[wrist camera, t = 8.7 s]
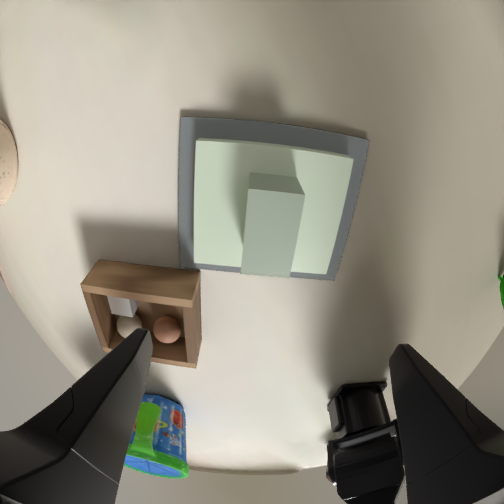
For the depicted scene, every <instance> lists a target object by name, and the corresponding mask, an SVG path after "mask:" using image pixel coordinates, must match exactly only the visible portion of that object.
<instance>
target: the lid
mask: <svg viewBox="0 0 504 504" xmlns="http://www.w3.org/2000/svg"><path fill="white" fill-rule="evenodd" d="M353 160H354V159H353V158H351V157H350V156H349V155H345V154H339V153H334V152H328V151H322V150H316V149H310V148H303V147H296V146H288V145H280V144H272V143H263V142H253V141H241V140H228V139H212V138H199V139H198V140H196V151H195V178H194V263H201V264H211V265H222V266H232V267H241V274H249V275H261V276H273V277H285V278H290V273H291V272H302V273H314V274H326V273H327V270H328V266H329V263H330V259H331V255H332V252H333V248H334V244H335V240H336V236H337V232H338V228H339V224H340V220H341V216H342V212H343V207H344V203H345V199H346V194H347V190H348V185H349V180H350V175H351V170H352V165H353Z"/></svg>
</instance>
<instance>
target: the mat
mask: <svg viewBox="0 0 504 504" xmlns="http://www.w3.org/2000/svg"><path fill="white" fill-rule="evenodd" d="M199 138H212V139H228V140H241V141H253V142H263V143H272V144H280V145H288V146H296V147H303V148H310V149H316V150H322V151H328V152H334V153H339V154H345V155H349V156H350V157H351V158H353V159H354V160H353V165H352V170H351V175H350V180H349V185H348V190H347V194H346V199H345V203H344V207H343V212H342V216H341V220H340V224H339V228H338V232H337V236H336V240H335V244H334V248H333V252H332V255H331V259H330V263H329V266H328V270H327V273H326V274H314V273H302V272H291V273H290V277H294V278H306V279H319V280H333V281H334V280H335V277H336V274H337V271H338V267H339V264H340V261H341V257H342V254H343V250H344V247H345V243H346V240H347V236H348V233H349V229H350V225H351V221H352V217H353V213H354V209H355V205H356V201H357V197H358V193H359V189H360V184H361V180H362V175H363V171H364V166H365V161H366V156H367V151H368V146H369V141H370V140H367V139H363V138H359V137H354V136H350V135H345V134H340V133H335V132H330V131H324V130H319V129H313V128H307V127H300V126H293V125H286V124H279V123H270V122H261V121H251V120H240V119H226V118H207V117H181V122H180V145H179V249H180V267H186V268H196V269H206V270H216V271H227V272H237V273H241V267H232V266H222V265H211V264H201V263H194V178H195V151H196V140H198V139H199Z"/></svg>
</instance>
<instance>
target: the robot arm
mask: <svg viewBox="0 0 504 504" xmlns="http://www.w3.org/2000/svg"><path fill="white" fill-rule="evenodd" d="M152 351H153V344H152V339H151V335H150V331H149V330H148V329H144V328H137V329H135V330H134V331H133V332H132V333H131V334H130V335H128V336H127V337H126V338H125V339H124V340H123V341H122V342H120V343H119V344H118V345H117V346H116V347H115V348H114V349H113V350H111V351H110V352H109V353H108V354H107V355H106V356H105V357H103V358H102V359H101V360H100V361H99V362H98V363H97V364H96V365H94V366H93V367H92V368H91V369H90V370H89V371H88V372H87V373H86V374H84V375H83V376H82V377H81V378H80V379H79V380H78V381H77V382H76V383H74V384H73V385H72V388H71V387H70V388H69V389H68V390H67V391H66V392H64V393H63V394H62V395H61V396H60V397H59V398H57V399H56V400H55V401H54V402H53V403H51V404H50V405H49V406H47V407H46V408H45V409H43V410H42V411H41V412H39V413H38V414H36V415H35V416H33V417H32V418H31V419H29V420H28V421H27V422H25V423H24V424H22V425H21V426H19V427H17V428H15V429H13V430H9V431H2V432H0V504H115V499H116V495H117V490H118V486H119V485H118V484H119V481H120V477H121V473H122V469H123V465H124V461H125V457H126V454H127V450H128V446H129V442H130V439H131V435H132V432H133V428H134V425H135V421H136V418H137V414H138V411H139V407H140V404H141V401H142V398H143V394H144V391H145V387H146V382H147V377H148V371H149V366H150V361H151V356H152ZM389 367H390V375H391V384H392V393H393V400H394V405H395V410H396V415H397V419H394V420H393V421H391V420H390V417H389V413H388V409H387V406H386V403H385V399H384V396H383V391H384V389H385V388H386V387H387V382H376V383H364V384H347V385H343V386H341V387H340V389H339V391H338V392H337V394H336V395H335V397H334V398H333V400H332V401H331V403H330V404H329V406H328V408H327V410H328V412H329V414H330V421H331V427H332V431H333V432H336V435H337V439H336V440H330V441H328V443H329V445H327V452H328V462H327V470H326V475H327V476H328V477H330V478H331V480H332V483H333V484H334V485H337V492H338V495H339V496H340V497H341V498H342V499H343V500H344V501H345V502H346V503H347V504H395V502H396V500H397V498H398V495H399V493H400V491H401V488H402V486H403V483H404V481H405V475H406V484H407V485H406V487H407V499H408V504H504V431H503V430H502V429H501V428H500V427H498V426H497V425H496V424H495V423H493V422H492V421H491V420H490V419H489V418H488V417H486V416H485V415H484V414H483V413H481V411H479V410H478V409H477V408H476V407H475V406H474V405H473V404H472V403H471V402H470V401H469V400H468V399H467V398H465V396H464V395H463V394H462V393H461V392H459V391H458V390H457V389H456V388H455V387H454V386H453V385H452V384H451V383H450V382H449V381H448V380H447V379H446V378H445V377H444V376H443V375H442V374H441V373H439V372H438V371H437V370H436V369H435V368H434V367H433V366H432V365H431V364H430V363H429V362H428V361H427V360H426V359H424V358H423V357H422V356H421V355H420V354H419V353H418V352H417V351H416V350H415V349H414V348H412V347H411V346H410V345H409V344H399V345H398V346H397V347H396V349H395V351H394V352H393V354H392V355H391V357H390V359H389ZM394 435H396V437H395V436H394ZM391 436H393V437H391ZM403 465H404V467H405V472H404V468H403Z"/></svg>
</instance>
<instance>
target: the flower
mask: <svg viewBox="0 0 504 504" xmlns="http://www.w3.org/2000/svg"><path fill="white" fill-rule="evenodd" d="M498 278H499V279H500V280H501V283H500V293H501V300H502V305H503V308H504V274H503V278H502V277H501V276H500V275H499V276H498Z"/></svg>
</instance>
